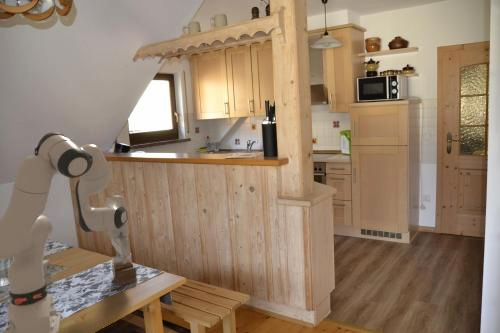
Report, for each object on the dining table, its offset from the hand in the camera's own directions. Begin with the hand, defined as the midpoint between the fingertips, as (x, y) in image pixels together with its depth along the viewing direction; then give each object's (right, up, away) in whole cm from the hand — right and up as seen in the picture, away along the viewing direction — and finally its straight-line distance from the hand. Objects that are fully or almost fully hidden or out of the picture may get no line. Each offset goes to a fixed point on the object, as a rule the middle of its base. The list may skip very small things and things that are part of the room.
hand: (121, 259), depth 185 cm
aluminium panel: (0, -7, +1) cm, 7 cm away
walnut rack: (+2, -9, 0) cm, 9 cm away
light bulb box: (-36, -12, -4) cm, 38 cm away
